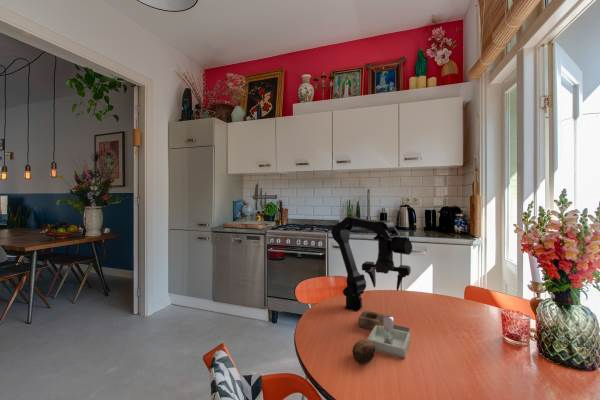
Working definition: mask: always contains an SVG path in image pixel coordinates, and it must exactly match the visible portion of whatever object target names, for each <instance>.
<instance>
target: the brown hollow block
mask: <svg viewBox="0 0 600 400" xmlns="http://www.w3.org/2000/svg"><path fill="white" fill-rule="evenodd" d="M384 316H385V314H384V313H379V312H375V311H369V310H363V312H362V313H360V315H359V316H358V318H357V319H358V321H357V327H358V329H362V330H366V331H370V332H372V330H373V329H374V327H375V325H377V326H382V327H384Z"/></svg>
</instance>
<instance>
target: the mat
mask: <svg viewBox="0 0 600 400" xmlns="http://www.w3.org/2000/svg"><path fill="white" fill-rule="evenodd" d="M393 329H396V330H400V331H405V332H409V331H410V327H406V326H401V325H397V324H393ZM409 333H410V332H409Z"/></svg>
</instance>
